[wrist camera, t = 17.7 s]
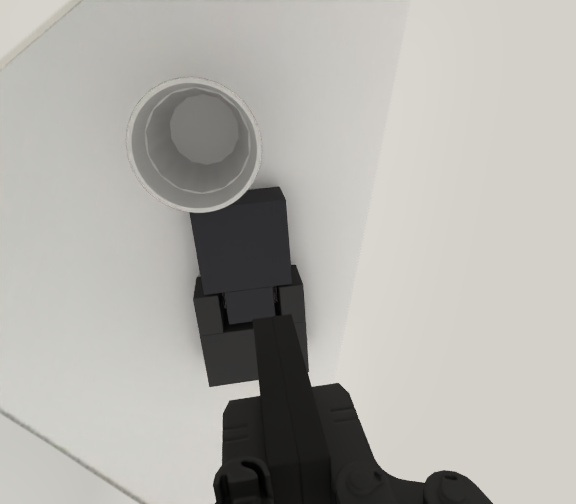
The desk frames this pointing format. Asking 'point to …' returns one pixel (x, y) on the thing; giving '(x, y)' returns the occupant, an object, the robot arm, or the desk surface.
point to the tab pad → (245, 252)
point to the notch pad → (242, 333)
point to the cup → (194, 144)
